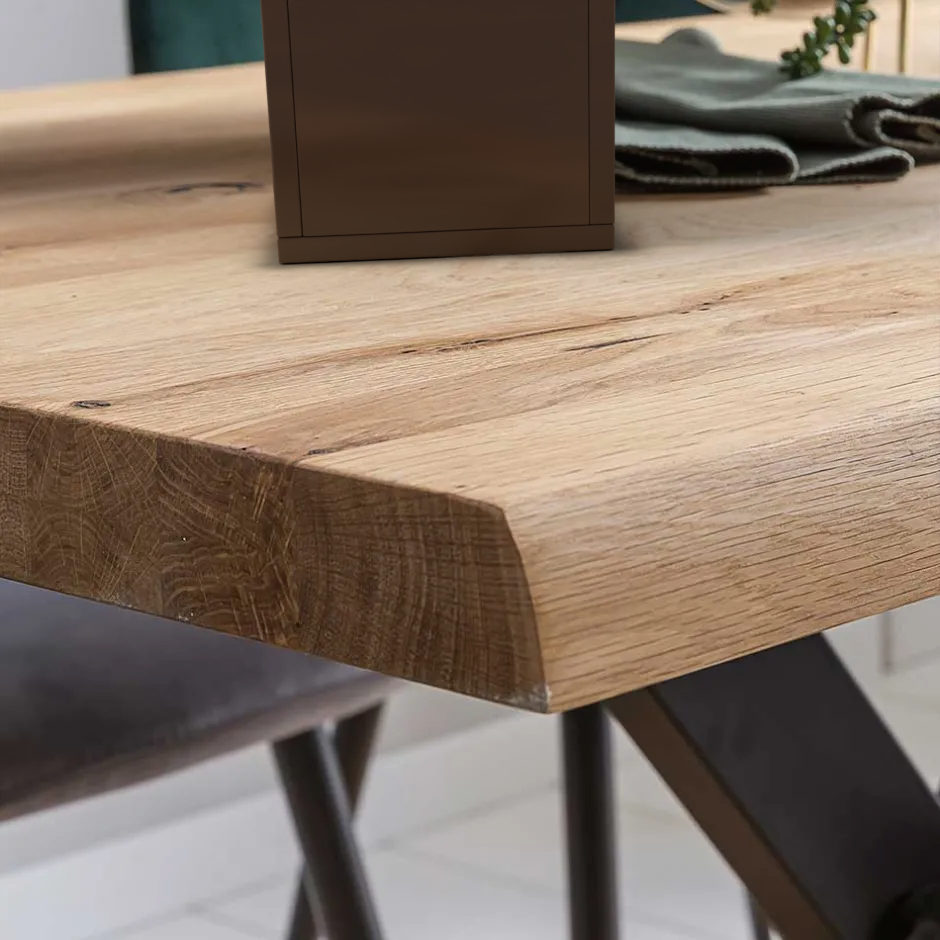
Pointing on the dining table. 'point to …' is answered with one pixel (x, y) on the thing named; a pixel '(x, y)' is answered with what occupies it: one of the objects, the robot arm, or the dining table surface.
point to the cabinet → (440, 127)
